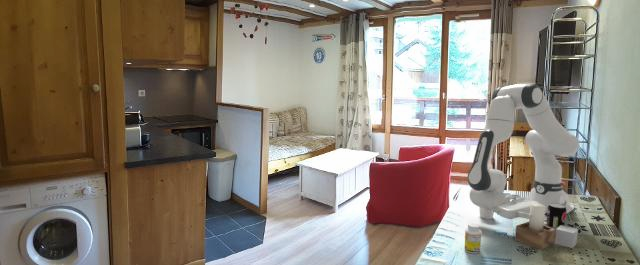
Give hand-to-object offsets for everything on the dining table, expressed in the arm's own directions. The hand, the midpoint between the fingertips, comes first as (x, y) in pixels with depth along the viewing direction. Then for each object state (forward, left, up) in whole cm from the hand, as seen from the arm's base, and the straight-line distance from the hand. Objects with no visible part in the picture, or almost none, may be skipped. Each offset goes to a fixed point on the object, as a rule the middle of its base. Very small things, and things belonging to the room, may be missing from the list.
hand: (537, 214), depth 151 cm
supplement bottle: (+28, -7, -12) cm, 31 cm away
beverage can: (-16, -1, -12) cm, 20 cm away
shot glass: (-8, -28, -12) cm, 32 cm away
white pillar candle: (0, 0, -6) cm, 6 cm away
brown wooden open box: (0, 0, -11) cm, 11 cm away
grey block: (-9, +7, -11) cm, 16 cm away
